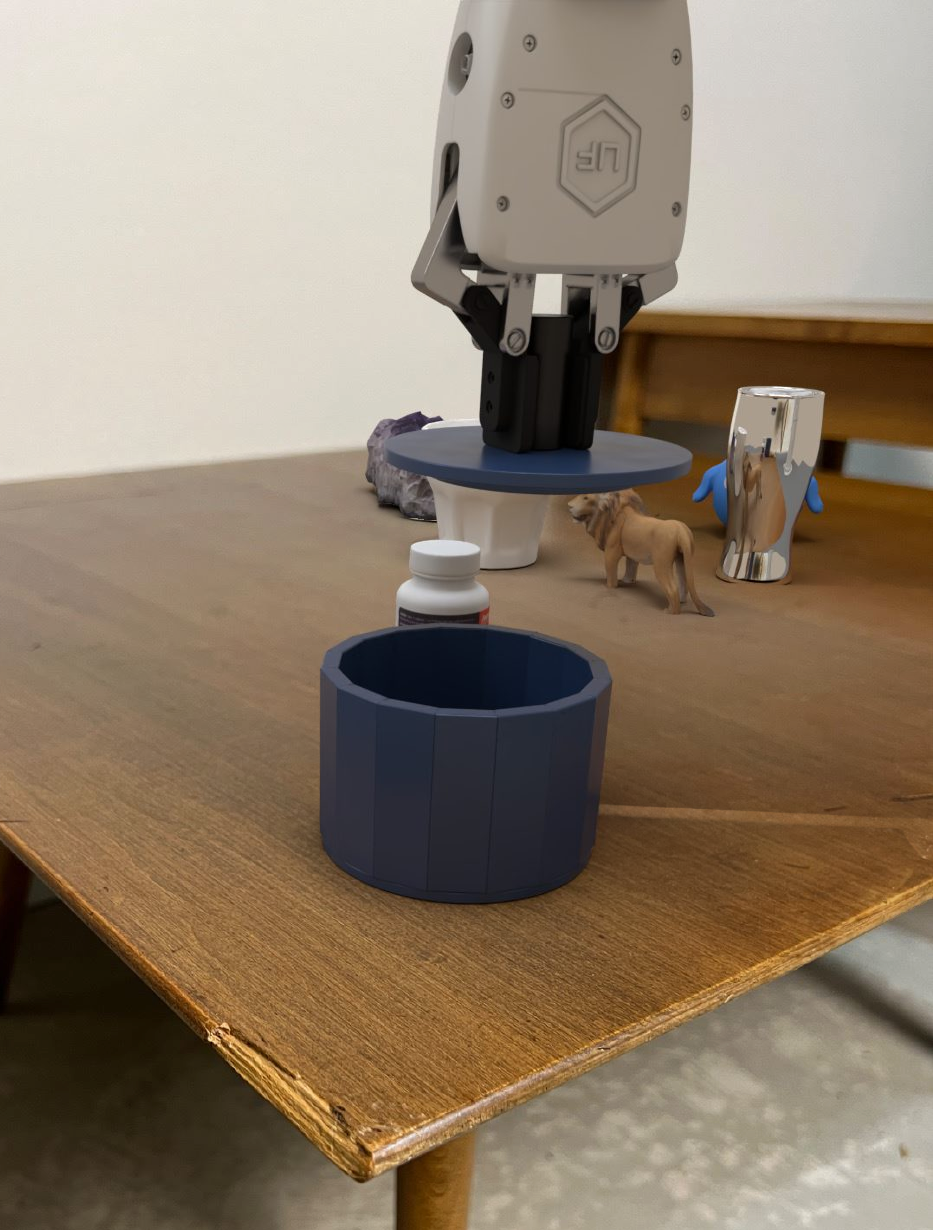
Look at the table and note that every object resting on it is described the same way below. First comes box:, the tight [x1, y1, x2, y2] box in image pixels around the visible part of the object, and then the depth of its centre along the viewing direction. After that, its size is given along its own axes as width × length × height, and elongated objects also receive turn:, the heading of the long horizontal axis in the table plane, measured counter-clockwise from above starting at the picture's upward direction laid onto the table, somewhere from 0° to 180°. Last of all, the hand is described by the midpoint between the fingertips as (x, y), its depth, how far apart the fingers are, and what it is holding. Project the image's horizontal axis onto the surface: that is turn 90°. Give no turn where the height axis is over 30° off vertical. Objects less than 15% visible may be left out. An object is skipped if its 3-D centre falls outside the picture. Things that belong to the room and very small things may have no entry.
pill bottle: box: [394, 539, 491, 627], centre depth 71 cm, size 5×5×10 cm
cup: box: [422, 418, 552, 570], centre depth 105 cm, size 12×12×11 cm
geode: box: [364, 410, 445, 520], centre depth 127 cm, size 20×12×10 cm, turn 7°
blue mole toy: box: [692, 459, 824, 527], centre depth 114 cm, size 12×12×8 cm
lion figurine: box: [567, 488, 715, 617], centre depth 93 cm, size 15×5×9 cm, turn 33°
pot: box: [319, 623, 613, 904], centre depth 55 cm, size 13×13×8 cm
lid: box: [384, 313, 694, 496], centre depth 53 cm, size 14×14×7 cm
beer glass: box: [715, 385, 826, 586], centre depth 99 cm, size 7×7×15 cm
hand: (536, 443), depth 54 cm, fingers closed on lid, 2 cm apart
